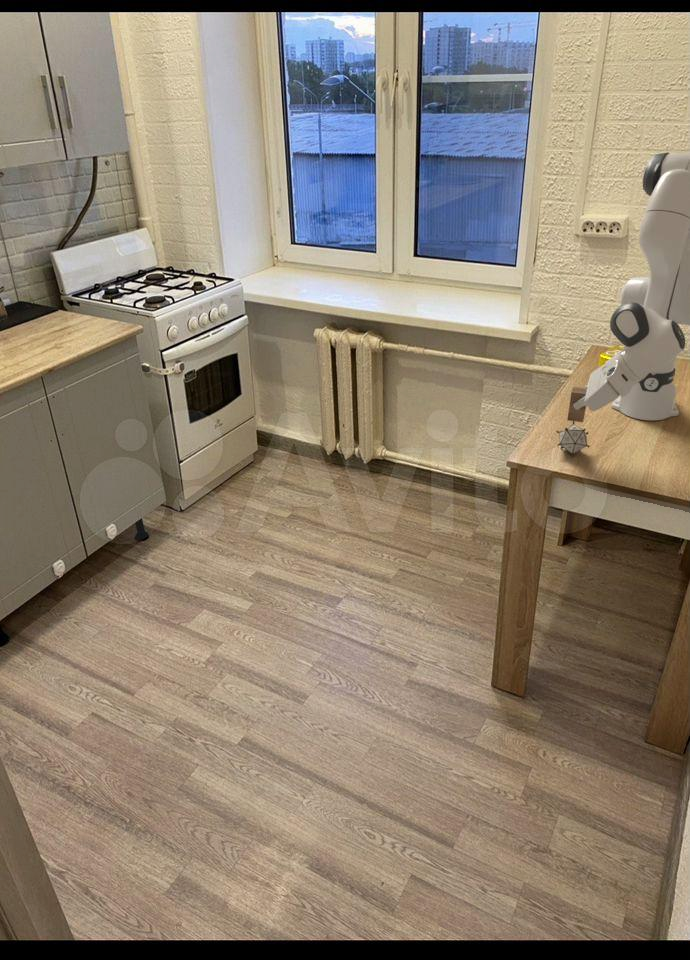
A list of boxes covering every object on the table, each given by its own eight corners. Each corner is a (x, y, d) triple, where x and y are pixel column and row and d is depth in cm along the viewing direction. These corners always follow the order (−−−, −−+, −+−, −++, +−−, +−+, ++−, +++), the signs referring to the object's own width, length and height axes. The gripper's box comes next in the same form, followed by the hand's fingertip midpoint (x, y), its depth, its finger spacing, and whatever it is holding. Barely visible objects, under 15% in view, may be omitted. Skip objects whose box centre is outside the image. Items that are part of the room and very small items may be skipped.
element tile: (637, 378, 236) (639, 364, 233) (595, 366, 245) (597, 353, 242) (657, 365, 244) (660, 352, 242) (616, 355, 254) (618, 342, 251)
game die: (565, 460, 196) (566, 424, 197) (594, 459, 190) (596, 422, 191) (549, 455, 190) (551, 418, 191) (579, 454, 184) (580, 416, 185)
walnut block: (568, 414, 189) (573, 386, 185) (584, 416, 188) (588, 388, 184) (567, 420, 186) (571, 392, 182) (583, 422, 185) (587, 394, 181)
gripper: (616, 348, 185) (572, 379, 193) (611, 377, 168) (563, 409, 177) (631, 366, 186) (586, 396, 194) (628, 396, 169) (579, 427, 177)
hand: (575, 402), depth 185 cm, fingers closed on walnut block, 4 cm apart
